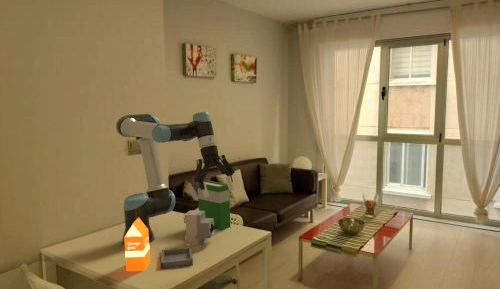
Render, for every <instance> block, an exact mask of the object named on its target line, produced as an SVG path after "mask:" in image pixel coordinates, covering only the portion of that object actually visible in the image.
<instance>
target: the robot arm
mask: <svg viewBox="0 0 500 289" xmlns="http://www.w3.org/2000/svg"><path fill="white" fill-rule="evenodd" d="M115 128H116V132H117V134H119V135H120V136H121V137H123V138H135V141H136V143H139V146H140V153H141V156H142V161H143V162H142V163H143V167H144V173H145V177H146V182H147V190H146V191H145V192H138V193H134V194H131V195H128V196H127V197H126V198H124V201H123V212H124V213H123V214H124V230H123V231H124V232H123V236H122V239H121V240H122V245H124V246H125V242H124V237H125V236H126V234H127V232H128V231H129V229H130V228H131V226H132V225H133V223H134V222H135V221H136V220H137V219H138V218H140V220H141V221H142V222H143V223H144V225H145V226H146V227H147V228H148V233H149V244H150V243H152V242H153V241H154V240H155V234H154V232H153V229H152V227H151V225H150V219H151V218H154V217H157V216H162V215H166V214H168V213H170V212H172V211H173V210H174V208H175V205H176V196H175V194H174V192H173V191H172V190H171V189H169V186H168V185H166V184H165V179H164V178H165V177H164V174H163V168H162V164H161V160H160V159H161V158H160V154H159V148H158V144H159V143H161V144H165V143H170V142H179V141H181V142H188V141H192V140H193V139H195V138H197V142H198V147H199V148H200V155H201V157H202V158H199V159H196V169H195V175H194V180H193V181H194V183H197V184H198V183H199V185H200V189H201V190H202V191H203V196H204V197H209V196H208V191H207V187H206V181H204V180H205V178H206V176H207V173H208V171H209V169H211V168H215V167H216V168H218V169H219V170H220V171H221V172H222V173H223V174H225V175H226V176H225V180H226V184H227V185H228V189H229V192H230V191H234V186H233V183H234V180H233V177H232V176H233V175H234V174H235V170H234V169H233V167H232V165H231V164H230V163H229V161H228V160H227V158H226V155H225V154H221V155H220V154H219V151H218V150H219V149H218V146H217V145H216V144H217V141H216V138H215V133H214V127H213V124H212V119H211V116H210V114H209V112H208V111H199V112H196V113H194V114H193V115H192V120H191V121H189V122H185V123H173V124H172V123H171V124H165V123H161V121H160V119H159V117H157V116H156V115H155V114H152V113H142V114H127V115H123V116H121V117H120V118H119V119H118V120H117V122H116V124H115Z"/></svg>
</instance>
